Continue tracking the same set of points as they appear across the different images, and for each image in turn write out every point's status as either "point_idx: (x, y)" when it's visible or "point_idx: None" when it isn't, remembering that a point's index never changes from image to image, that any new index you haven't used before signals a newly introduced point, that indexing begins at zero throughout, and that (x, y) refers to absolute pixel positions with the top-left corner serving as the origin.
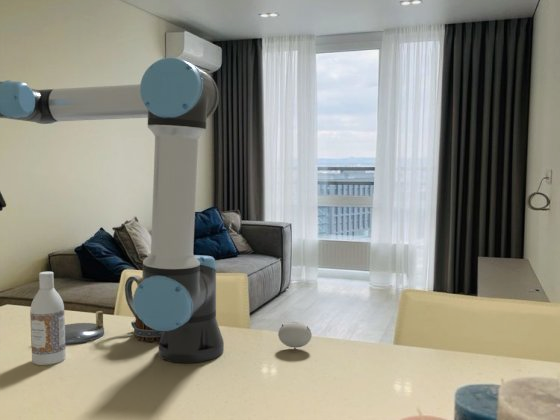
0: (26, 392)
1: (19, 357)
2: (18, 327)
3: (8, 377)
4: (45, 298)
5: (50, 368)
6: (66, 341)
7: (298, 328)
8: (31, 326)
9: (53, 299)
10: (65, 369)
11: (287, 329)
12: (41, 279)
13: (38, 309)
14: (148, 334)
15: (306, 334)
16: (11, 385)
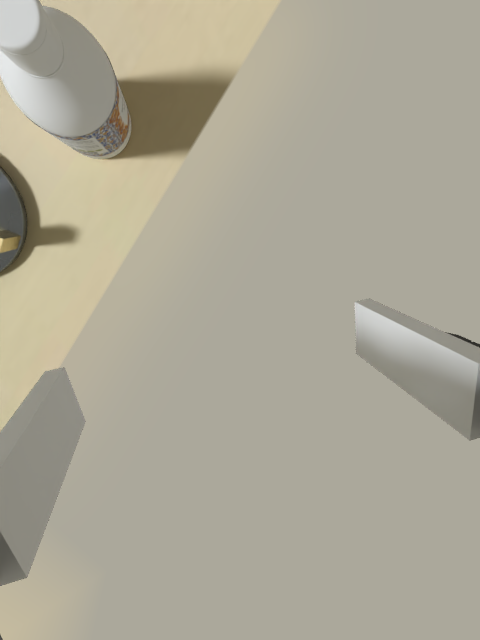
0: (227, 9)
1: (124, 201)
2: (16, 379)
3: (200, 119)
4: (73, 26)
5: (123, 74)
6: (3, 173)
7: None
8: (120, 115)
9: (48, 8)
10: (106, 32)
11: None
12: (48, 22)
13: (105, 58)
14: None
15: None
16: (220, 75)
